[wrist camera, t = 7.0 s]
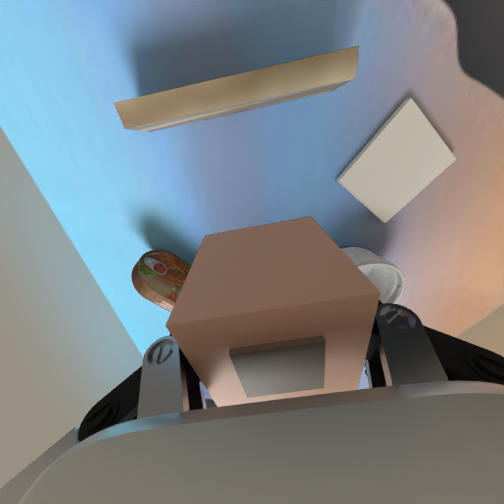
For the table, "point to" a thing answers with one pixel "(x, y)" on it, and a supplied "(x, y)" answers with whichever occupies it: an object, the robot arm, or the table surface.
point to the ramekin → (378, 273)
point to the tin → (160, 277)
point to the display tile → (396, 162)
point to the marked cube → (274, 314)
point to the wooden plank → (240, 91)
